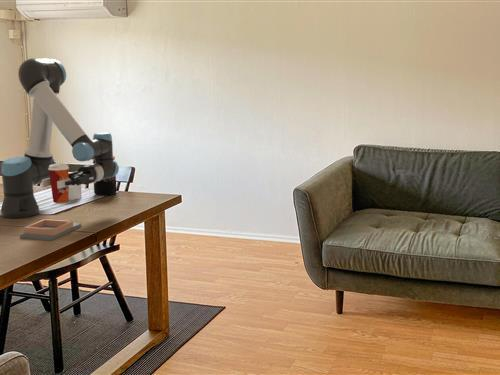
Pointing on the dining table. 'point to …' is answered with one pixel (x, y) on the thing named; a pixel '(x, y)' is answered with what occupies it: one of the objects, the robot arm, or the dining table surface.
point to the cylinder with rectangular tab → (74, 191)
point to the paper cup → (58, 174)
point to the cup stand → (49, 229)
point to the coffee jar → (105, 185)
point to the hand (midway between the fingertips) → (50, 184)
